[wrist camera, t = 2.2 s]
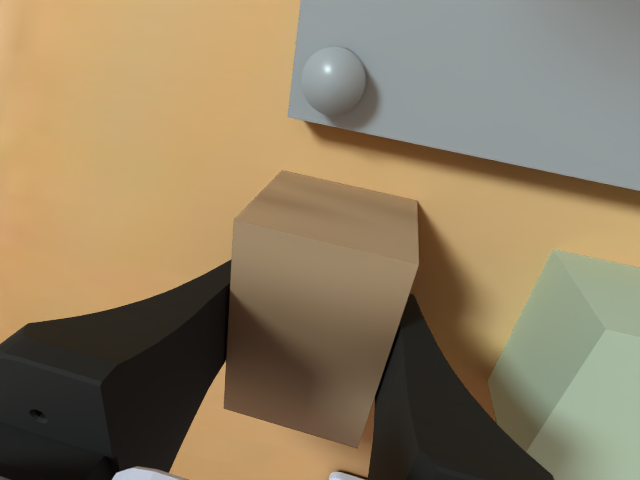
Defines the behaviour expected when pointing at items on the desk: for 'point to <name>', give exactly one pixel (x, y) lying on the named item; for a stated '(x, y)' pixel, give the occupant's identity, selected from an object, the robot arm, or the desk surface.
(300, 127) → the desk surface
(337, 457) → the desk surface
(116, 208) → the desk surface
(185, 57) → the desk surface
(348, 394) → the walnut brick
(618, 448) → the sage brick
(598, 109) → the baseplate
